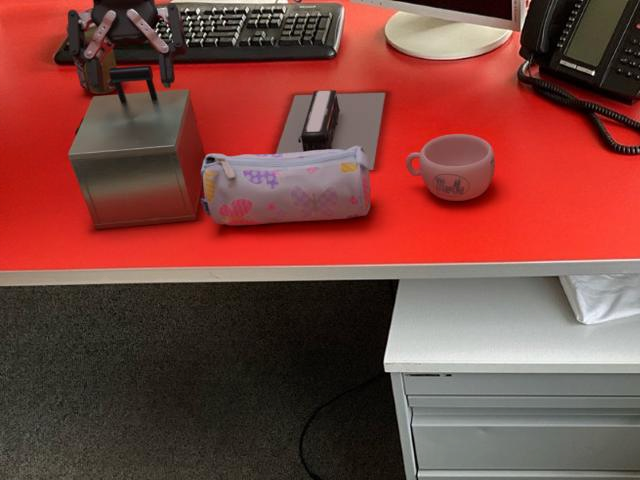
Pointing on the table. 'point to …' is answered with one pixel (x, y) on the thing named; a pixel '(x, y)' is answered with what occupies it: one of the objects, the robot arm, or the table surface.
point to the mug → (455, 166)
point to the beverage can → (105, 63)
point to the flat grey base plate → (333, 123)
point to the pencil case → (286, 186)
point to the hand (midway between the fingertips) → (132, 88)
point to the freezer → (145, 183)
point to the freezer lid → (131, 119)
